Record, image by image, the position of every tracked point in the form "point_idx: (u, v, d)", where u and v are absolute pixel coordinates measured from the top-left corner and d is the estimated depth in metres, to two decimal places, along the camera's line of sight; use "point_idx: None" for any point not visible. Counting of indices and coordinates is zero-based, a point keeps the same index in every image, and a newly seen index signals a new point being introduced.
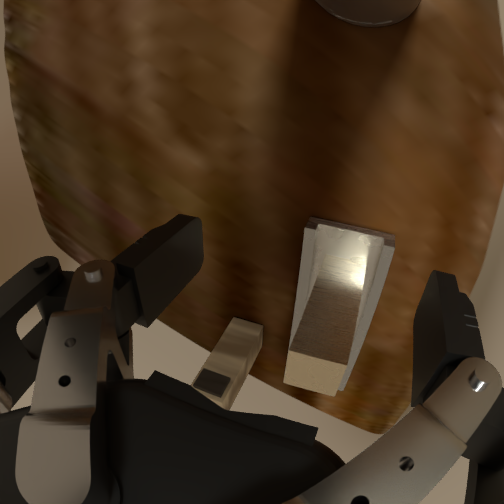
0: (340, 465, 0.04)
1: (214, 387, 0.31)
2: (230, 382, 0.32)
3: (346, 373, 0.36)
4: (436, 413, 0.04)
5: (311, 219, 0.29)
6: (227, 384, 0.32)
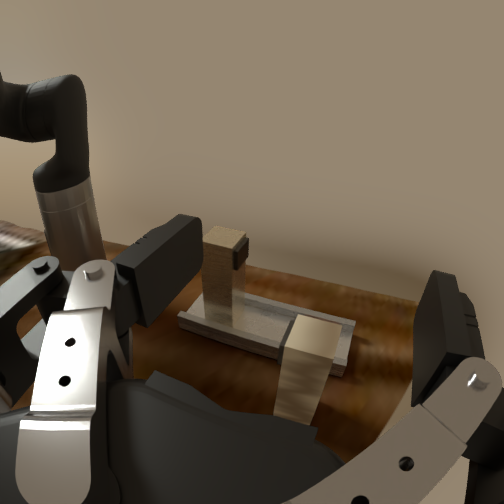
0: (340, 465, 0.04)
1: None
2: None
3: (327, 316, 0.41)
4: (436, 413, 0.04)
5: (179, 323, 0.42)
6: None
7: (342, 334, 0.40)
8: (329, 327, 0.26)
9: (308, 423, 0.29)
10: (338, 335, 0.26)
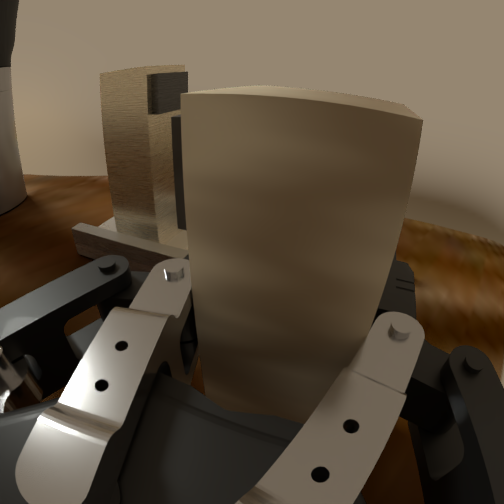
0: None
1: None
2: None
3: None
4: (365, 372, 0.05)
5: (78, 245, 0.22)
6: None
7: None
8: (364, 97, 0.07)
9: None
10: (403, 107, 0.06)
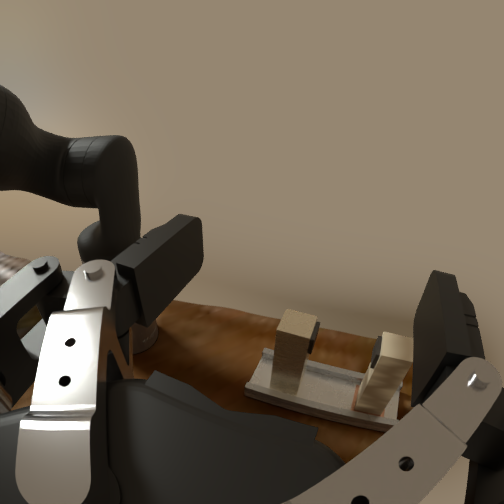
0: (340, 465, 0.04)
1: (376, 345, 0.36)
2: None
3: None
4: (436, 413, 0.04)
5: (245, 392, 0.43)
6: (376, 345, 0.37)
7: None
8: (405, 340, 0.35)
9: (381, 411, 0.38)
10: (412, 345, 0.34)
